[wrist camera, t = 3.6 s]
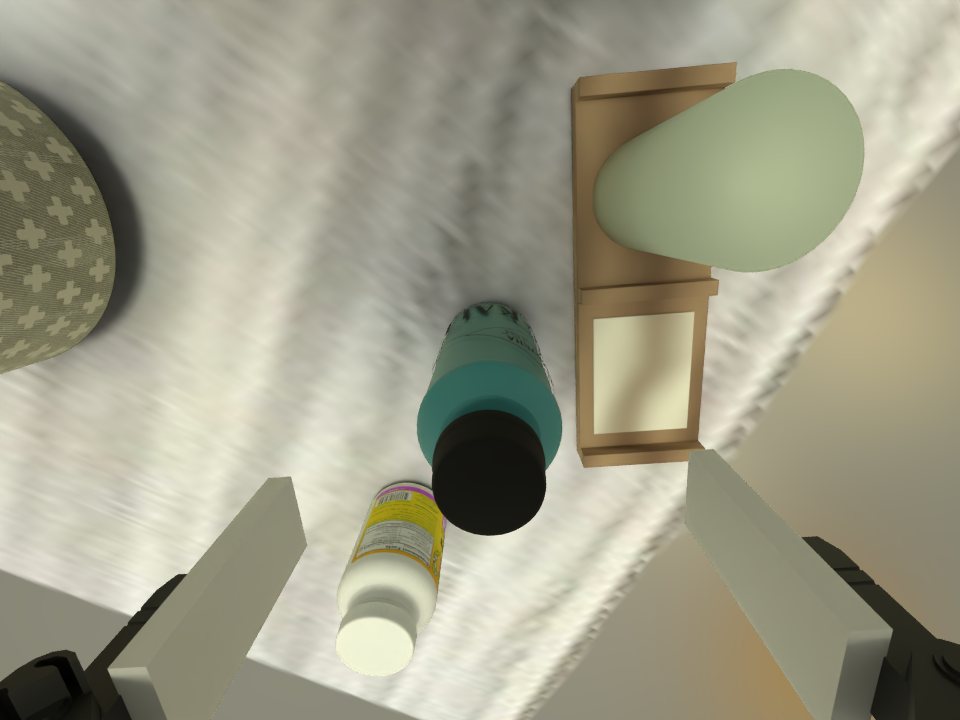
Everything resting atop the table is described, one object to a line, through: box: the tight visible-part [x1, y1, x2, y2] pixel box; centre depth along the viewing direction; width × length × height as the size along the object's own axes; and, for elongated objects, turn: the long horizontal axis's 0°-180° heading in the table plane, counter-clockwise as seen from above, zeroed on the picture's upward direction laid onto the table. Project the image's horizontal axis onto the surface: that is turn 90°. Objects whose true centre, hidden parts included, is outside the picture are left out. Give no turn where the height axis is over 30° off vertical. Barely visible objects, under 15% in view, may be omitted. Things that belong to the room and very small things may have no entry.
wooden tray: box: [571, 62, 737, 468], centre depth 31 cm, size 9×26×3 cm, turn 5°
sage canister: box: [593, 69, 864, 272], centre depth 23 cm, size 7×7×13 cm
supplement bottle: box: [336, 483, 446, 676], centre depth 32 cm, size 7×7×13 cm
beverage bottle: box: [417, 302, 562, 536], centre depth 24 cm, size 6×7×20 cm
